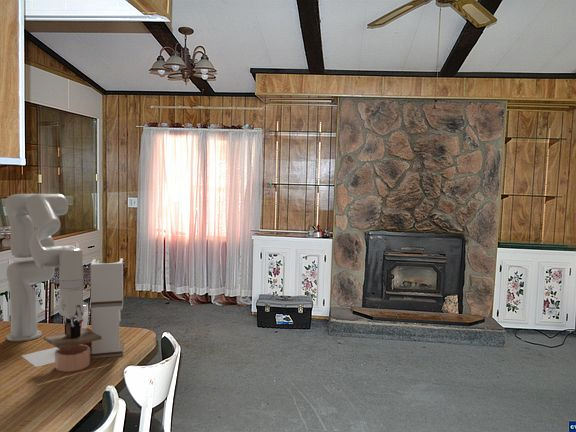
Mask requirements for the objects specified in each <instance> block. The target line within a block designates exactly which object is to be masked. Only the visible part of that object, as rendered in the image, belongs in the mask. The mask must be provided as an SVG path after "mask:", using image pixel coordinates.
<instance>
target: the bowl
mask: <svg viewBox="0 0 576 432" xmlns="http://www.w3.org/2000/svg"><path fill="white" fill-rule="evenodd" d="M90 363H91V346H90V347H89V346H87V345H83V344H80V345H76V346H72V347H68V348H64V349H57V350H56V352H55V362H54V365H55V366H54V367H55V370H57V371H58V372H65V373H66V372H67V373H69V372H76V371H81V370H84V369H86V368H87V367H89V366H90Z"/></svg>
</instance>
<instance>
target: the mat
mask: <svg viewBox="0 0 576 432" xmlns="http://www.w3.org/2000/svg"><path fill="white" fill-rule="evenodd" d="M57 349H59V348H57V347H55V346H54V347H52V348H46V349H42V350H38V351H35V352H31V353H27V354H22V355H21V357H22V358H23V359H25V361H27V362H29V363H30V364H31V365H32V366H34V367H35V368H38V367H42V366H45V365H49V364H55V352H56V350H57Z"/></svg>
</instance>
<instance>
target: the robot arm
mask: <svg viewBox="0 0 576 432" xmlns="http://www.w3.org/2000/svg"><path fill="white" fill-rule="evenodd" d="M4 206H5V207H4V208H5V213H6V216H7V218H8V220H9V221H8V222H9V225H10V230H9V231H10V236H9V237H10V239H9V240H10V252H11V255H12V256H13V257H14V258H18V259H25V258H26V259H27V258H32V259H27V260H19V261H14V262H11V263H10V264H8V266H7V268H6V278H7V282H8V287H9V289H8V291H9V302H10V303H9V304H10V305H9V310H10V333H9V334H7V336H6V340H8V341H9V342H25V341H26V342H27V341H30V340H34V339H35V340H36V339H38V338H40V337H41V336H42V331H41V330H40V329H38V305H37V304H38V303H37V299H38V298H37V292H36V291H35V289H34V288H33V287H32V286H31V285H30V284H34V283H40V282H47V281H48V282H49V281H51V280H52V279H54V276H55V271H56V269H55V268H58V275H59V276H58V279H59V296H58V298H59V299H58V313H59V315H60V316H62V317H63V323H64V332H65V335H66V324H67V323H71V326H72V327H70V333H71V338H76V337H80V336H81V331H80V326H81V321H82V320H83V318H82V316H83V315H84V302H85V301H84V294H83V288H84V253H83V249H82V248H79V247H76V246H74V245H72V244H66V245H65V244H63V245H55V241H54V239H53V237H52V236H53V235H55V234H56V233H57V232H58V231H59V230H60V228H61V225H62V224H61V221H60V218H59V216H64V215H65V214H67V213H68V210H69V202H68V199H67V198H66V196H64V195H63V194H61V193H15V194H11V195H9V196H8V197H6V199H5V204H4ZM75 315H77V317H74V316H75ZM74 319H77V320H75V321H74Z"/></svg>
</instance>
